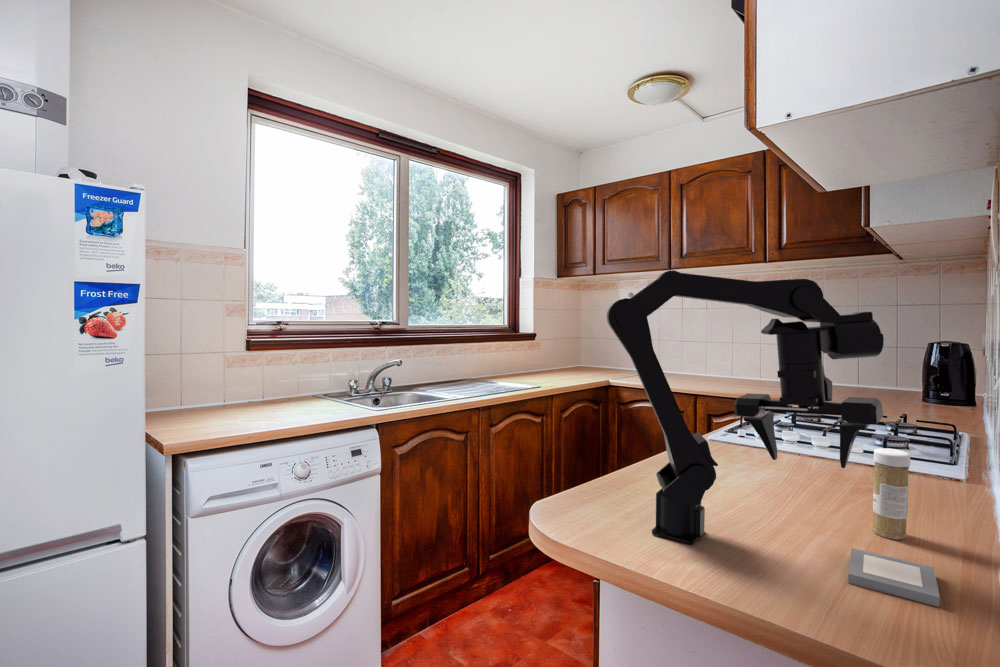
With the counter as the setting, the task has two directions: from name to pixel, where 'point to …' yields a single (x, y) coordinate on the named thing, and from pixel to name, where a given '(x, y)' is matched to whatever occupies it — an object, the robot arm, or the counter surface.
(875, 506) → the sprinkles bottle
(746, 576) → the counter surface
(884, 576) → the tile
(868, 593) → the counter surface
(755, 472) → the counter surface
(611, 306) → the robot arm
